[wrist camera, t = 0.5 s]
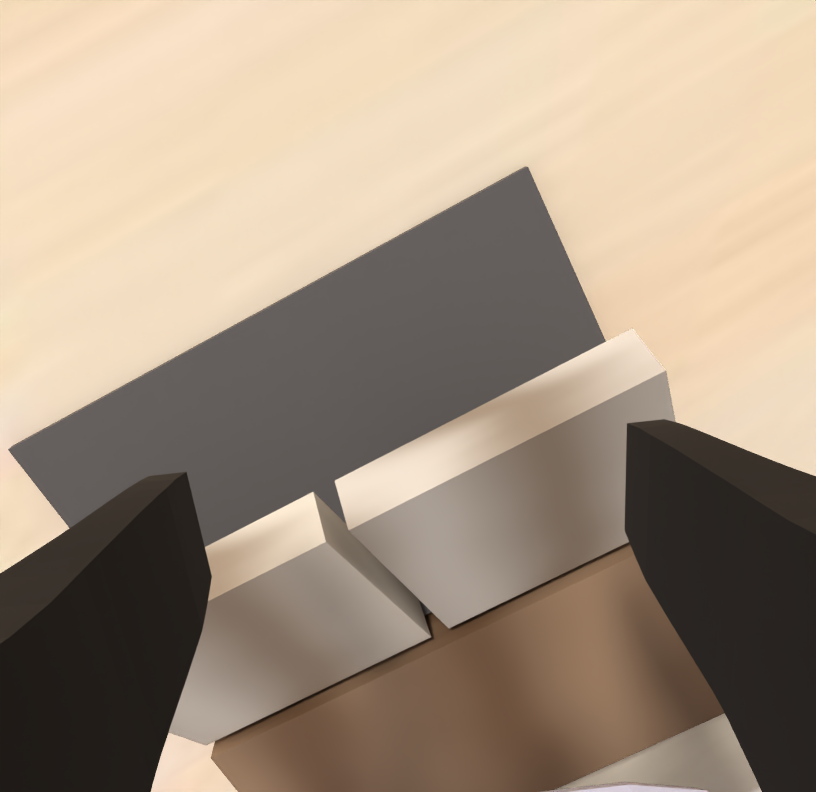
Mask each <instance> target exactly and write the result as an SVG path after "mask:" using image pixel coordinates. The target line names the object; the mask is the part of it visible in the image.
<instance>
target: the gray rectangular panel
mask: <svg viewBox="0 0 816 792" xmlns="http://www.w3.org/2000/svg"><path fill="white" fill-rule="evenodd" d="M604 342H606V341H605V339H604V336H603V334H602V332H601V330H600V328H599V325H598V323H597V321H596V319H595V316H594V314H593V312H592V310H591V307H590V305H589V303H588V301H587V298H586V296H585V294H584V292H583V289H582V287H581V285H580V283H579V280H578V278H577V276H576V274H575V272H574V269H573V267H572V265H571V263H570V260H569V258H568V256H567V254H566V251H565V249H564V247H563V245H562V242H561V240H560V238H559V236H558V233H557V231H556V229H555V227H554V224H553V222H552V220H551V218H550V216H549V213H548V211H547V209H546V207H545V204H544V202H543V200H542V198H541V195H540V193H539V191H538V189H537V186H536V184H535V182H534V180H533V177H532V175H531V173H530V171H529V168H528V167H523V168H522V169H520V170H518V171H516V172H514V173H512V174H511V175H509V176H507V177H505V178H503V179H501V180H500V181H498V182H496V183H494V184H492V185H490V186H489V187H487V188H485V189H483V190H481V191H479V192H478V193H476V194H474V195H472V196H470V197H468V198H467V199H465V200H463V201H461V202H459V203H457V204H456V205H454V206H452V207H450V208H448V209H446V210H445V211H443V212H441V213H439V214H437V215H435V216H433V217H432V218H430V219H428V220H426V221H424V222H422V223H421V224H419V225H417V226H415V227H413V228H411V229H410V230H408V231H406V232H404V233H402V234H400V235H399V236H397V237H395V238H393V239H391V240H389V241H388V242H386V243H384V244H382V245H380V246H378V247H377V248H375V249H373V250H371V251H369V252H367V253H366V254H364V255H362V256H360V257H358V258H356V259H355V260H353V261H351V262H349V263H347V264H345V265H344V266H342V267H340V268H338V269H336V270H334V271H333V272H331V273H329V274H327V275H325V276H323V277H322V278H320V279H318V280H316V281H314V282H312V283H311V284H309V285H307V286H305V287H303V288H301V289H300V290H298V291H296V292H294V293H292V294H290V295H289V296H287V297H285V298H283V299H281V300H279V301H278V302H276V303H274V304H272V305H270V306H268V307H267V308H265V309H263V310H261V311H259V312H257V313H256V314H254V315H252V316H250V317H248V318H246V319H244V320H243V321H241V322H239V323H237V324H235V325H233V326H232V327H230V328H228V329H226V330H224V331H222V332H221V333H219V334H217V335H215V336H213V337H211V338H210V339H208V340H206V341H204V342H202V343H200V344H199V345H197V346H195V347H193V348H191V349H189V350H188V351H186V352H184V353H182V354H180V355H178V356H177V357H175V358H173V359H171V360H169V361H167V362H166V363H164V364H162V365H160V366H158V367H156V368H155V369H153V370H151V371H149V372H147V373H145V374H144V375H142V376H140V377H138V378H136V379H134V380H133V381H131V382H129V383H127V384H125V385H123V386H122V387H120V388H118V389H116V390H114V391H112V392H111V393H109V394H107V395H105V396H103V397H101V398H100V399H98V400H96V401H94V402H92V403H90V404H89V405H87V406H85V407H83V408H81V409H79V410H78V411H76V412H74V413H72V414H70V415H68V416H67V417H65V418H63V419H61V420H59V421H57V422H55V423H54V424H52V425H50V426H48V427H46V428H44V429H43V430H41V431H39V432H37V433H35V434H33V435H32V436H30V437H28V438H26V439H24V440H22V441H21V442H19V443H17V444H15V445H13V446H12V447H11V448H10V449H8V450H9V451H10V453H11V454H12V455H13V457H14V458H15V459H16V460H17V462H18V463H19V464H20V465H21V467H22V468H23V469H24V471H25V472H26V473H27V474H28V476H29V477H30V478H31V479H32V481H33V482H34V483H35V485H36V486H37V487H38V488H39V490H40V491H41V492H42V493H43V495H44V496H45V497H46V499H47V500H48V501H49V502H50V504H51V505H52V506H53V507H54V509H55V510H56V511H57V513H58V514H59V515H60V516H61V518H62V519H63V520H64V521H65V523H66V524H67V525H68V527H69V528H71V527H72V526H74V525H75V524H77V523H78V522H80V521H81V520H82V519H84V518H85V517H87V516H88V515H90V514H91V513H92V512H94V511H95V510H97V509H98V508H100V507H101V506H102V505H104V504H105V503H107V502H108V501H110V500H111V499H112V498H114V497H115V496H117V495H118V494H120V493H121V492H123V491H124V490H126V489H127V488H129V487H130V486H132V485H133V484H135V483H137V482H138V481H140V480H142V479H144V478H146V477H148V476H153V475H162V474H171V473H180V472H187V476H188V480H189V484H190V488H191V492H192V496H193V501H194V505H195V509H196V513H197V517H198V521H199V525H200V529H201V534H202V538H203V542H204V546H205V547H206V546H208V545H210V544H212V543H214V542H216V541H218V540H220V539H222V538H224V537H226V536H228V535H230V534H232V533H234V532H235V531H237V530H239V529H241V528H243V527H245V526H247V525H249V524H251V523H253V522H255V521H257V520H259V519H261V518H263V517H265V516H267V515H269V514H271V513H273V512H275V511H276V510H278V509H280V508H282V507H284V506H286V505H288V504H290V503H292V502H294V501H296V500H298V499H300V498H302V497H304V496H306V495H308V494H310V493H312V492H314V493H315V494H316V495H317V496H318V497H319V498H320V499H321V500H322V501H323V502H324V503H325V504H326V505H327V506H328V507H329V508H330V509H331V510H332V511H333V512H334V513H335V514H336V515H337V516H338V517H339V518H340V519H341V520H342V521H343V522H344V523H345V524H346V525H347V523H346V520H345V516H344V513H343V509H342V506H341V502H340V498H339V495H338V491H337V488H336V484H335V480H337V479H339V478H341V477H343V476H345V475H347V474H349V473H351V472H353V471H355V470H356V469H358V468H360V467H362V466H364V465H366V464H368V463H370V462H372V461H374V460H376V459H378V458H380V457H382V456H384V455H386V454H388V453H390V452H392V451H394V450H395V449H397V448H399V447H401V446H403V445H405V444H407V443H409V442H411V441H413V440H415V439H417V438H419V437H421V436H423V435H425V434H427V433H429V432H431V431H433V430H434V429H436V428H438V427H440V426H442V425H444V424H446V423H448V422H450V421H452V420H454V419H456V418H458V417H460V416H462V415H464V414H466V413H468V412H470V411H472V410H474V409H475V408H477V407H479V406H481V405H483V404H485V403H487V402H489V401H491V400H493V399H495V398H497V397H499V396H501V395H503V394H505V393H507V392H509V391H511V390H513V389H514V388H516V387H518V386H520V385H522V384H524V383H526V382H528V381H530V380H532V379H534V378H536V377H538V376H540V375H542V374H544V373H546V372H548V371H550V370H552V369H554V368H555V367H557V366H559V365H561V364H563V363H565V362H567V361H569V360H571V359H573V358H575V357H577V356H579V355H581V354H583V353H585V352H587V351H589V350H591V349H593V348H594V347H596V346H598V345H600V344H602V343H604ZM419 602H420V605H421V608H422V611H423V614H424V615H426V614H429V613H431V611H430V610H429V609H428V608H427V607H426V606H425V605H424V604H423V603H422V602H421V601H420V600H419Z"/></svg>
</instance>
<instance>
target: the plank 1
mask: <svg viewBox="0 0 816 792" xmlns="http://www.w3.org/2000/svg"><path fill="white" fill-rule="evenodd" d="M205 550H206V554H207V558H208V562H209V567H210V571H211V575H212V579H211V585H210V591H209V598H208V604H207V609H206V615H205V620H204V625H203V630H202V633H201V636H200V640H199V643H198V646H197V649H196V652H195V655H194V658H193V661H192V664H191V667H190V670H189V673H188V676H187V679H186V682H185V685H184V688H183V691H182V694H181V697H180V700H179V703H178V706H177V709H176V712H175V715H174V717H173V720H172V723H171V726H170V729H169V733H172V734H175V735H178V736H181V737H183V738H186V739H189V740H192V741H195V742H198V743H201V744H203V745H208V744H210V743H212V742H214V741H216V740H218V739H220V738H222V737H225V736H227V735H229V734H231V733H233V732H235V731H237V730H239V729H241V728H243V727H245V726H247V725H249V724H252V723H254V722H256V721H258V720H260V719H262V718H264V717H266V716H268V715H270V714H272V713H274V712H276V711H279V710H281V709H283V708H285V707H287V706H289V705H291V704H293V703H295V702H297V701H299V700H301V699H304V698H306V697H308V696H310V695H312V694H314V693H316V692H318V691H320V690H322V689H324V688H326V687H328V686H331V685H333V684H335V683H337V682H339V681H341V680H343V679H345V678H347V677H349V676H351V675H353V674H355V673H358V672H360V671H362V670H364V669H366V668H368V667H370V666H372V665H374V664H376V663H378V662H380V661H382V660H385V659H387V658H389V657H391V656H393V655H395V654H397V653H399V652H401V651H403V650H405V649H407V648H409V647H412V646H414V645H416V644H418V643H420V642H422V641H424V640H426V639H428V638H430V637H431V635H430V632H429V629H428V626H427V623H426V620H425V617H424V614H423V611H422V608H421V605H420V602H419V599H418V598H417V597H416V596H415V595H414V594H413V593H412V592H411V591H410V590H409V589H408V588H407V587H406V586H405V585H404V584H403V583H402V582H401V581H400V580H399V579H398V578H397V577H396V576H395V575H394V574H392V573H391V572H390V571H389V570H388V569H387V568H386V567H385V566H384V565H383V564H382V563H381V562H380V561H379V560H378V559H377V558H376V557H375V556H374V555H373V554H372V553H371V552H370V551H369V550H368V549H367V548H366V547H365V546H364V545H363V544H362V543H361V542H360V541H359V540H358V539H357V538H356V537H355V536H354V535H353V534H352V533H351V532H350V531H349V530H348V527H347V525H346V524H345V523H344V522H343V521H342V520H341V519H340V518H339V517H338V516H337V515H336V514H335V513H334V512H333V511H332V510H331V509H330V508H329V507H328V506H327V505H326V504H325V503H324V502H323V501H322V500H321V499H320V498H319V497H318V496H317V495H316V494H315V493H314V492H312V493H310V494H308V495H306V496H304V497H302V498H300V499H298V500H296V501H294V502H292V503H290V504H288V505H286V506H284V507H282V508H280V509H278V510H276V511H275V512H273V513H271V514H269V515H267V516H265V517H263V518H261V519H259V520H257V521H255V522H253V523H251V524H249V525H247V526H245V527H243V528H241V529H239V530H237V531H235V532H234V533H232V534H230V535H228V536H226V537H224V538H222V539H220V540H218V541H216V542H214V543H212V544H210V545H208V546H206V547H205Z"/></svg>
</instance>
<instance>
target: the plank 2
mask: <svg viewBox="0 0 816 792" xmlns="http://www.w3.org/2000/svg"><path fill="white" fill-rule="evenodd" d="M661 419H666V420H669V421H673V422H675V417H674V411H673V406H672V400H671V395H670V389H669V384H668V378H667V373H666V370H665V369H664V367H663V366H662V365H661V363H660V362H659V361H658V360H657V358H656V357H655V356H654V355H653V353H652V352H651V351H650V350H649V348H648V347H647V346H646V345H645V343H644V342H643V341H642V339H641V338H640V337H639V336H638V334H637V333H636V332H635V331H634V329H633V328H632V329H630V330H628V331H626V332H624V333H622V334H620V335H618V336H616V337H614V338H612V339H610V340H608V341H606V342H604V343H602V344H600V345H598V346H596V347H594V348H593V349H591V350H589V351H587V352H585V353H583V354H581V355H579V356H577V357H575V358H573V359H571V360H569V361H567V362H565V363H563V364H561V365H559V366H557V367H555V368H554V369H552V370H550V371H548V372H546V373H544V374H542V375H540V376H538V377H536V378H534V379H532V380H530V381H528V382H526V383H524V384H522V385H520V386H518V387H516V388H514V389H513V390H511V391H509V392H507V393H505V394H503V395H501V396H499V397H497V398H495V399H493V400H491V401H489V402H487V403H485V404H483V405H481V406H479V407H477V408H475V409H474V410H472V411H470V412H468V413H466V414H464V415H462V416H460V417H458V418H456V419H454V420H452V421H450V422H448V423H446V424H444V425H442V426H440V427H438V428H436V429H434V430H433V431H431V432H429V433H427V434H425V435H423V436H421V437H419V438H417V439H415V440H413V441H411V442H409V443H407V444H405V445H403V446H401V447H399V448H397V449H395V450H394V451H392V452H390V453H388V454H386V455H384V456H382V457H380V458H378V459H376V460H374V461H372V462H370V463H368V464H366V465H364V466H362V467H360V468H358V469H356V470H355V471H353V472H351V473H349V474H347V475H345V476H343V477H341V478H339V479H337V480H335V484H336V488H337V491H338V495H339V498H340V502H341V506H342V509H343V513H344V516H345V520H346V523H347V527H348V530H349V531H350V532H351V533H352V534H353V535H354V536H355V537H356V538H357V539H358V540H359V541H360V542H361V543H362V544H363V545H364V546H365V547H366V548H367V549H368V550H369V551H370V552H371V553H372V554H373V555H374V556H375V557H376V558H377V559H378V560H379V561H380V562H381V563H382V564H383V565H384V566H385V567H386V568H387V569H388V570H389V571H390V572H391V573H392V574H394V575H395V576H396V577H397V578H398V579H399V580H400V581H401V582H402V583H403V584H404V585H405V586H406V587H407V588H408V589H409V590H410V591H411V592H412V593H413V594H414V595H415V596H416V597H417V598H418V599H419V600H420V601H421V602H422V603H423V604H424V605H425V606H426V607H427V608H428V609H429V610H430V611H431V612H432V613H433V614H434V615H435V616H436V617H437V618H438V619H440V620H441V621H442V622H443V623H444V624H445V625H446V626H447V627H448V628H451V627H453V626H455V625H457V624H459V623H461V622H463V621H466V620H468V619H470V618H472V617H474V616H476V615H478V614H480V613H482V612H484V611H486V610H488V609H490V608H493V607H495V606H497V605H499V604H501V603H503V602H505V601H507V600H509V599H511V598H513V597H515V596H518V595H520V594H522V593H524V592H526V591H528V590H530V589H532V588H534V587H536V586H538V585H540V584H542V583H545V582H547V581H549V580H551V579H553V578H555V577H557V576H559V575H561V574H563V573H565V572H567V571H569V570H572V569H574V568H576V567H578V566H580V565H582V564H584V563H586V562H588V561H590V560H592V559H594V558H596V557H599V556H601V555H603V554H605V553H607V552H609V551H611V550H613V549H615V548H617V547H619V546H621V545H623V544H626V543H628V542H629V540H628V538H627V535H626V533H625V486H626V441H627V423H634V422H643V421H652V420H661Z"/></svg>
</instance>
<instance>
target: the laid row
mask: <svg viewBox="0 0 816 792" xmlns="http://www.w3.org/2000/svg"><path fill="white" fill-rule="evenodd" d="M424 617H425V620H426V623H427V626H428V629H429V632H430V635H431V637H430V638H428V639H426V640H424V641H422V642H420V643H418V644H416V645H414V646H412V647H409V648H407V649H405V650H403V651H401V652H399V653H397V654H395V655H393V656H391V657H389V658H387V659H385V660H382V661H380V662H378V663H376V664H374V665H372V666H370V667H368V668H366V669H364V670H362V671H360V672H358V673H355V674H353V675H351V676H349V677H347V678H345V679H343V680H341V681H339V682H337V683H335V684H333V685H331V686H328V687H326V688H324V689H322V690H320V691H318V692H316V693H314V694H312V695H310V696H308V697H306V698H304V699H301V700H299V701H297V702H295V703H293V704H291V705H289V706H287V707H285V708H283V709H281V710H279V711H276V712H274V713H272V714H270V715H268V716H266V717H264V718H262V719H260V720H258V721H256V722H254V723H252V724H249V725H247V726H245V727H243V728H241V729H239V730H237V731H235V732H233V733H231V734H229V735H227V736H225V737H222V738H220V739H218V740H216V741H215V744H214V748H213V751H212V755H211V759H212V760H213V761H214V763H215V764H216V765H217V766H218V767H219V769H220V770H221V771H222V772H223V774H224V775H225V776H226V777H227V779H228V780H229V781H230V782H231V784H232V785H233V786H234V787H235V788H236V790H237V791H238V792H543V791H551V790H555V789H557V788H559V787H561V786H563V785H566V784H568V783H570V782H572V781H575V780H577V779H579V778H581V777H583V776H586V775H588V774H590V773H592V772H595V771H597V770H599V769H601V768H604V767H606V766H608V765H610V764H612V763H615V762H617V761H619V760H621V759H624V758H626V757H628V756H630V755H632V754H635V753H637V752H639V751H641V750H644V749H646V748H648V747H650V746H652V745H655V744H657V743H659V742H661V741H664V740H666V739H668V738H670V737H672V736H675V735H677V734H679V733H681V732H684V731H686V730H688V729H690V728H692V727H695V726H697V725H699V724H701V723H704V722H706V721H708V720H710V719H712V718H715V717H717V716H719V715H721V714H724V711H723V709H722V707H721V705H720V704H719V702H718V700H717V698H716V696H715V694H714V693H713V691H712V689H711V688H710V686H709V684H708V683H707V681H706V679H705V678H704V676H703V675H702V673H701V671H700V670H699V668H698V666H697V665H696V663H695V661H694V660H693V658H692V657H691V655H690V653H689V652H688V650H687V648H686V647H685V645H684V643H683V642H682V640H681V639H680V637H679V635H678V634H677V632H676V630H675V629H674V627H673V626H672V624H671V622H670V621H669V619H668V617H667V616H666V614H665V612H664V611H663V609H662V607H661V606H660V604H659V602H658V601H657V599H656V597H655V596H654V594H653V592H652V591H651V589H650V587H649V585H648V584H647V582H646V580H645V578H644V576H643V574H642V571H641V569H640V567H639V564H638V562H637V560H636V558H635V555H634V553H633V550H632V548H631V545H630V543H629V542H628V543H626V544H623V545H621V546H619V547H617V548H615V549H613V550H611V551H609V552H607V553H605V554H603V555H601V556H599V557H596V558H594V559H592V560H590V561H588V562H586V563H584V564H582V565H580V566H578V567H576V568H574V569H572V570H569V571H567V572H565V573H563V574H561V575H559V576H557V577H555V578H553V579H551V580H549V581H547V582H545V583H542V584H540V585H538V586H536V587H534V588H532V589H530V590H528V591H526V592H524V593H522V594H520V595H518V596H515V597H513V598H511V599H509V600H507V601H505V602H503V603H501V604H499V605H497V606H495V607H493V608H490V609H488V610H486V611H484V612H482V613H480V614H478V615H476V616H474V617H472V618H470V619H468V620H466V621H463V622H461V623H459V624H457V625H455V626H453V627H451V628H448V627H447V626H446V625H445V624H444V623H443V622H442V621H441V620H440V619H438V618H437V617H436V616H435V615H434V614H433V613H432V612H431V613H429V614H426V615H424Z"/></svg>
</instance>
